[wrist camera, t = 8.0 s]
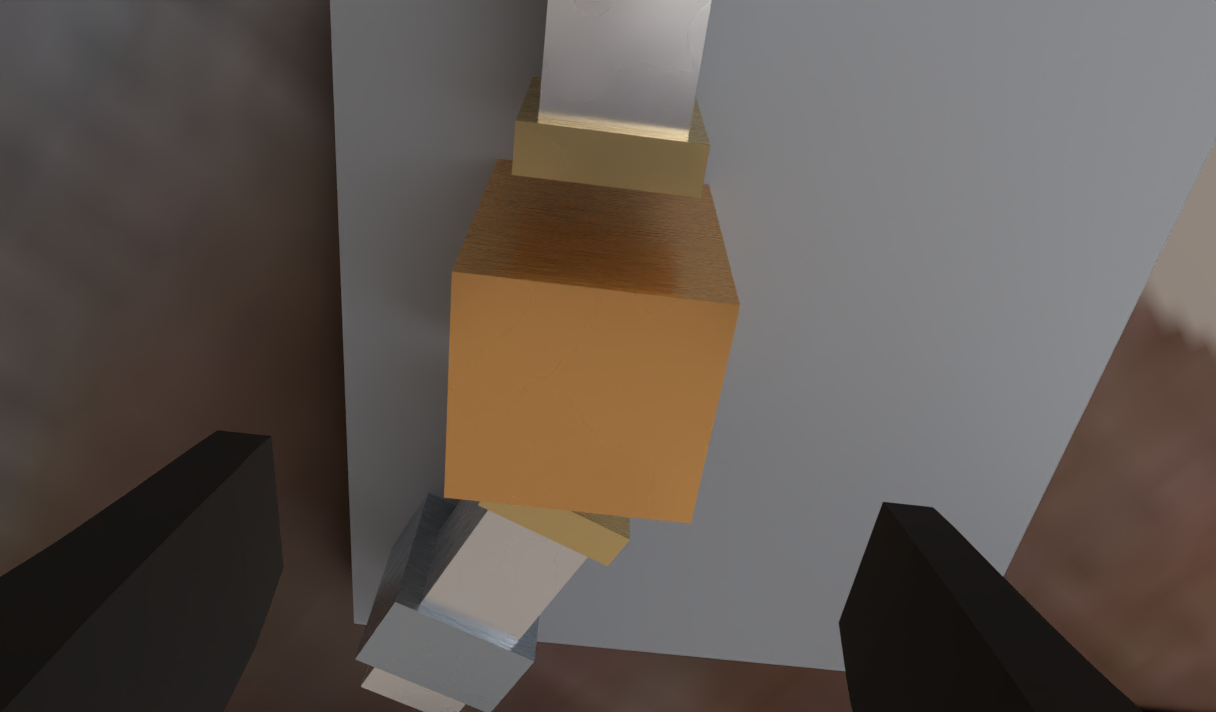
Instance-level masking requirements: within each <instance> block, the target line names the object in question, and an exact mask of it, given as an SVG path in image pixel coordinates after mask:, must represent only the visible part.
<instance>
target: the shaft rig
mask: <svg viewBox="0 0 1216 712" xmlns="http://www.w3.org/2000/svg"><path fill="white" fill-rule="evenodd" d="M711 2H712V0H548V5H547V17H546V29H545V42H544V54H543V66H542V77H538V76H533V78H532V80H531V83H530V85H529V88H528V90H527V93H526V95H525V98H524V100H523V103H522V105H521V108H520V110H519V113H518V115H517V118H516V120H515V134H514V149H513V164H512V175H518V176H526V177H534V178H542V179H550V180H558V181H566V182H575V183H583V184H591V185H599V186H607V187H615V188H623V189H631V190H640V191H648V192H656V193H664V194H672V195H680V196H688V197H696V198H701V193H702V188H703V182H704V177H705V171H706V166H707V161H708V155H709V150H710V142H709V139H708V135H707V132H706V129H705V125H704V122H703V119H702V115H701V112H700V108H699V105H698V102H697V98H696V97H695V95H696V89H697V83H698V77H699V71H700V66H701V60H702V54H703V48H704V42H705V37H706V31H707V25H708V19H709V13H710V7H711ZM629 540H630V517H624V516H615V515H605V514H596V513H586V512H577V511H567V510H558V509H548V508H539V507H529V506H520V505H510V504H500V503H491V502H481V501H472V500H461V501H460V503H459V504H458V505H457V506H456V505H454V504H452V503H449V502H447V501H445V500H443V499H441V498H439V497H437V496H434V495H432V494H430V493H428V494H427V495H426V497H425V498H424V500H423V501H422V503H421V504H420V506H419V507H418V509H417V510H416V512H415V513H414V515H413V516H412V518H411V519H410V521H409V522H408V524H407V525H406V527H405V528H404V530H403V531H402V533H401V534H400V536H399V537H398V539H397V540H396V542H395V543H394V545H393V546H392V549H391V552H390V555H389V558H388V561H387V564H386V567H385V571H384V574H383V577H382V580H381V583H380V586H379V589H378V592H377V595H376V598H375V601H374V604H373V607H372V610H371V613H370V616H369V619H368V622H367V625H366V628H365V631H364V634H363V637H362V640H361V643H360V646H359V649H358V652H357V655H356V658H355V660H358V661H360V662H363V663H365V664H368V665H367V668H366V671H365V674H364V677H363V680H362V684H361V687H363V688H365V689H368V690H370V691H373V692H375V693H378V694H380V695H383V696H385V697H388V698H390V699H393V700H396V701H398V702H401V703H403V704H406V705H408V706H411V707H413V708H416V709H418V710H421V711H423V712H460V710H461V709H462V708H463V707H464V706H465V704H467V705H470V706H472V707H474V708H477V709H479V710H482V711H484V712H491V711H492V710H493V709H494V708H495V707H496V706H497V704H498V703H499V702H500V701H501V700H502V699H503V697H504V696H505V695H506V694H507V693H508V692H509V690H510V689H511V688H512V687H513V686H514V685H515V683H516V682H517V681H518V680H519V679H520V678H521V677H522V675H523V674H524V673H525V672H526V671H527V670H528V668H529V667H530V666H531V665H532V664H533V663H534V661H535V652H536V642H537V633H538V624H539V615H540V614H541V613H542V612H543V610H544V609H545V608H546V607H547V606H548V604H549V603H550V602H551V601H552V600H553V598H554V597H555V596H556V595H557V594H558V592H559V591H560V590H561V589H562V588H563V586H564V585H565V584H566V583H567V582H568V580H569V579H570V578H571V577H572V576H573V574H574V573H575V572H576V571H577V570H578V568H579V567H580V566H581V565H582V564H583V562H584V561H585V560H586V559H587V557H589V558H591V559H593V560H595V561H597V562H599V563H601V564H603V565H606V566H608V565H609V564H610V563H611V562H612V560H613V559H614V558H615V557H616V556H617V554H618V553H619V552H620V551H621V550H622V549H623V547H624V546H625V545H626V544H627V543H628V542H629Z"/></svg>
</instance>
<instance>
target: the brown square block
mask: <svg viewBox="0 0 1216 712" xmlns="http://www.w3.org/2000/svg"><path fill="white" fill-rule="evenodd" d="M512 164H513V160H506V159H497V162H496V164H495V167H494V169H493V172H492V174H491V176H490V179H489V181H488V184H487V186H486V189H485V191H484V194H483V196H482V199H481V201H480V203H479V206H478V208H477V211H476V213H475V216H474V218H473V221H472V223H471V226H470V228H469V231H468V233H467V235H466V238H465V240H464V243H463V245H462V248H461V250H460V253H459V255H458V258H457V260H456V262H455V265H454V267H453V270H452V282H451V311H450V340H449V369H448V398H447V427H446V456H445V485H444V498H453V499H462V500H472V501H481V502H491V503H500V504H510V505H520V506H529V507H539V508H548V509H558V510H567V511H577V512H586V513H596V514H605V515H615V516H624V517H634V518H643V519H653V520H662V521H672V522H681V523H691V521H692V517H693V512H694V508H695V504H696V499H697V495H698V490H699V486H700V482H701V477H702V473H703V468H704V464H705V459H706V455H707V451H708V446H709V442H710V437H711V433H712V429H713V424H714V420H715V415H716V411H717V406H718V402H719V398H720V393H721V389H722V384H723V380H724V375H725V371H726V367H727V362H728V358H729V353H730V349H731V345H732V340H733V336H734V331H735V327H736V322H737V318H738V314H739V309H740V302H739V298H738V295H737V291H736V287H735V283H734V279H733V275H732V271H731V267H730V263H729V260H728V256H727V252H726V248H725V244H724V240H723V236H722V232H721V229H720V225H719V221H718V217H717V213H716V209H715V205H714V201H713V198H712V194H711V190H710V186H709V185H706V184H703V188H702V193H701V198H696V197H688V196H680V195H672V194H664V193H656V192H648V191H640V190H631V189H623V188H615V187H607V186H599V185H591V184H583V183H575V182H566V181H558V180H550V179H542V178H534V177H526V176H518V175H512Z"/></svg>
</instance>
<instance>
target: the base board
mask: <svg viewBox="0 0 1216 712" xmlns="http://www.w3.org/2000/svg"><path fill="white" fill-rule="evenodd" d="M547 5H548V0H330V15H331V41H332V67H333V93H334V119H335V144H336V170H337V196H338V222H339V248H340V273H341V299H342V325H343V351H344V377H345V402H346V428H347V454H348V480H349V506H350V531H351V557H352V583H353V609H354V624H363V625H367V622H368V619H369V616H370V613H371V610H372V607H373V604H374V601H375V598H376V595H377V592H378V589H379V586H380V583H381V580H382V577H383V574H384V571H385V567H386V564H387V561H388V558H389V555H390V552H391V549H392V546H393V545H394V543H395V542H396V540H397V539H398V537H399V536H400V534H401V533H402V531H403V530H404V528H405V527H406V525H407V524H408V522H409V521H410V519H411V518H412V516H413V515H414V513H415V512H416V510H417V509H418V507H419V506H420V504H421V503H422V501H423V500H424V498H425V497H426V495H427V494H428V493H430V494H432V495H434V496H437V497H439V498H441V499H443V500H445V501H447V502H449V503H452V504H454V505H456V506H457V505H458V504H459V503H460V501H461V500H462V499H453V498H444V485H445V456H446V427H447V398H448V369H449V340H450V311H451V282H452V270H453V267H454V265H455V262H456V260H457V258H458V255H459V253H460V250H461V248H462V245H463V243H464V240H465V238H466V235H467V233H468V231H469V228H470V226H471V223H472V221H473V218H474V216H475V213H476V211H477V208H478V206H479V203H480V201H481V199H482V196H483V194H484V191H485V189H486V186H487V184H488V181H489V179H490V176H491V174H492V172H493V169H494V167H495V164H496V162H497V159H506V160H513V149H514V134H515V120H516V118H517V115H518V113H519V110H520V108H521V105H522V103H523V100H524V98H525V95H526V93H527V90H528V88H529V85H530V83H531V80H532V78H533V76H538V77H542V66H543V54H544V42H545V29H546V17H547ZM695 97H696V98H697V102H698V105H699V108H700V112H701V115H702V119H703V122H704V125H705V129H706V132H707V135H708V139H709V142H710V150H709V155H708V161H707V166H706V171H705V177H704V182H703V184H706V185H709V186H710V190H711V194H712V198H713V201H714V205H715V209H716V213H717V217H718V221H719V225H720V229H721V232H722V236H723V240H724V244H725V248H726V252H727V256H728V260H729V263H730V267H731V271H732V275H733V279H734V283H735V287H736V291H737V295H738V298H739V302H740V309H739V314H738V318H737V322H736V327H735V331H734V336H733V340H732V345H731V349H730V353H729V358H728V362H727V367H726V371H725V375H724V380H723V384H722V389H721V393H720V398H719V402H718V406H717V411H716V415H715V420H714V424H713V429H712V433H711V437H710V442H709V446H708V451H707V455H706V459H705V464H704V468H703V473H702V477H701V482H700V486H699V490H698V495H697V499H696V504H695V508H694V512H693V517H692V521H691V523H681V522H672V521H662V520H653V519H643V518H634V517H630V540H629V542H628V543H627V544H626V545H625V546H624V547H623V549H622V550H621V551H620V552H619V553H618V554H617V556H616V557H615V558H614V559H613V560H612V562H611V563H610V564H609V565H608V566H606V565H603V564H601V563H599V562H597V561H595V560H593V559H591V558H589V557H587V559H586V560H585V561H584V562H583V564H582V565H581V566H580V567H579V568H578V570H577V571H576V572H575V573H574V574H573V576H572V577H571V578H570V579H569V580H568V582H567V583H566V584H565V585H564V586H563V588H562V589H561V590H560V591H559V592H558V594H557V595H556V596H555V597H554V598H553V600H552V601H551V602H550V603H549V604H548V606H547V607H546V608H545V609H544V610H543V612H542V613H541V614H540V615H539V624H538V633H537V641H538V642H549V643H559V644H569V645H580V646H590V647H600V648H611V649H621V650H631V651H642V652H652V653H662V654H673V655H683V656H693V657H704V658H714V659H724V660H735V661H745V662H755V663H766V664H776V665H786V666H797V667H807V668H817V669H828V670H838V671H845V665H844V658H843V651H842V644H841V637H840V629H839V620H840V617H841V615H842V612H843V609H844V606H845V604H846V601H847V598H848V596H849V593H850V590H851V587H852V585H853V582H854V579H855V576H856V574H857V571H858V568H859V566H860V563H861V560H862V557H863V555H864V552H865V549H866V547H867V544H868V541H869V538H870V536H871V533H872V530H873V527H874V525H875V522H876V519H877V517H878V514H879V511H880V508H881V506H882V503H883V502H890V503H899V504H909V505H918V506H927V507H933V508H935V509H936V510H937V511H938V512H939V513H940V514H941V515H942V516H943V517H944V518H945V519H946V520H947V521H948V522H949V523H950V524H952V525H953V526H954V527H955V528H956V529H957V530H958V531H959V532H960V533H961V534H962V535H963V536H964V537H965V538H966V539H967V540H968V541H969V542H970V543H971V544H972V546H973V547H974V548H975V549H976V550H977V551H978V552H979V553H980V554H981V555H982V556H983V557H984V558H985V559H986V560H987V561H988V562H989V563H990V564H991V565H992V566H993V567H994V568H995V569H996V570H997V571H998V572H999V573H1000V574H1001V575H1002V576H1004V574H1005V572H1006V570H1007V568H1008V566H1009V564H1010V562H1011V560H1012V558H1013V555H1014V553H1015V551H1016V549H1017V547H1018V545H1019V543H1020V541H1021V539H1022V537H1023V535H1024V533H1025V531H1026V529H1027V527H1028V525H1029V523H1030V521H1031V519H1032V516H1033V514H1034V512H1035V510H1036V508H1037V506H1038V504H1039V502H1040V500H1041V498H1042V496H1043V494H1044V492H1045V490H1046V488H1047V486H1048V484H1049V482H1050V480H1051V477H1052V475H1053V473H1054V471H1055V469H1056V467H1057V465H1058V463H1059V461H1060V459H1061V457H1062V455H1063V453H1064V451H1065V449H1066V447H1067V445H1068V443H1069V440H1070V438H1071V436H1072V434H1073V432H1074V430H1075V428H1076V426H1077V424H1078V422H1079V420H1080V418H1081V416H1082V414H1083V412H1084V410H1085V408H1086V406H1087V404H1088V401H1089V399H1090V397H1091V395H1092V393H1093V391H1094V389H1095V387H1096V385H1097V383H1098V381H1099V379H1100V377H1101V375H1102V373H1103V371H1104V369H1105V367H1106V365H1107V362H1108V360H1109V358H1110V356H1111V354H1112V352H1113V350H1114V348H1115V346H1116V344H1117V342H1118V340H1119V338H1120V336H1121V334H1122V332H1123V330H1124V328H1125V326H1126V323H1127V321H1128V319H1129V317H1130V315H1131V313H1132V311H1133V309H1134V307H1135V305H1136V303H1137V301H1138V299H1139V297H1140V295H1141V293H1142V291H1143V289H1144V287H1145V284H1146V282H1147V280H1148V278H1149V276H1150V274H1151V272H1152V270H1153V268H1154V266H1155V263H1156V262H1157V260H1158V258H1159V256H1160V253H1161V252H1162V249H1163V247H1164V245H1165V243H1166V241H1167V239H1168V237H1169V235H1170V233H1171V231H1172V229H1173V227H1174V225H1175V223H1176V221H1177V219H1178V217H1179V214H1180V213H1181V211H1182V208H1183V206H1184V204H1185V202H1186V200H1187V198H1188V196H1189V194H1190V192H1191V190H1192V188H1193V186H1194V183H1195V182H1196V180H1197V178H1198V176H1199V173H1200V171H1201V169H1202V167H1203V165H1204V163H1205V161H1206V159H1207V157H1208V155H1209V153H1210V151H1211V149H1212V147H1213V145H1214V143H1215V141H1216V0H712V2H711V7H710V13H709V19H708V25H707V31H706V37H705V42H704V48H703V54H702V60H701V66H700V71H699V77H698V83H697V89H696V95H695Z"/></svg>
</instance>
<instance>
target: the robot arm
mask: <svg viewBox="0 0 1216 712" xmlns="http://www.w3.org/2000/svg"><path fill="white" fill-rule="evenodd" d="M282 569H283V559H282V548H281V537H280V527H279V516H278V505H277V494H276V484H275V473H274V462H273V452H272V441H271V436H265V435H255V434H246V433H237V432H227V431H216V432H215V433H213V434H212V435H210V436H208V437H207V438H205V439H204V440H202V441H201V442H200V443H198V444H197V445H195V446H194V447H192V448H191V449H189V450H188V451H187V452H185V453H184V454H182V455H181V456H179V457H178V458H177V459H175V460H174V461H172V462H171V463H170V464H168V465H167V466H165V467H164V468H163V469H161V470H160V471H158V472H157V473H155V474H154V475H153V476H151V477H150V478H148V479H147V480H146V481H144V482H143V483H141V484H140V485H139V486H137V487H136V488H134V489H133V490H131V491H130V492H129V493H127V494H126V495H124V496H123V497H121V498H120V499H118V500H117V501H116V502H114V503H113V504H111V505H110V506H108V507H107V508H105V509H104V510H102V511H101V512H99V513H98V514H97V515H95V516H94V517H92V518H91V519H89V520H88V521H86V522H85V523H83V524H82V525H80V526H79V527H78V528H76V529H75V530H73V531H72V532H70V533H69V534H67V535H66V536H64V537H63V538H61V539H60V540H58V541H57V542H55V543H54V544H52V545H51V546H49V547H47V548H46V549H44V550H43V551H41V552H39V553H38V554H36V555H35V556H33V557H32V558H30V559H28V560H27V561H25V562H24V563H22V564H20V565H19V566H17V567H16V568H14V569H12V570H11V571H9V572H8V573H6V574H4V575H3V576H1V577H0V712H223V711H224V709H225V707H226V705H227V703H228V701H229V699H230V697H231V695H232V693H233V691H234V689H235V687H236V685H237V683H238V681H239V679H240V677H241V675H242V673H243V671H244V669H245V667H246V665H247V663H248V661H249V659H250V657H251V655H252V652H253V650H254V648H255V646H256V643H257V641H258V638H259V635H260V632H261V630H262V627H263V624H264V622H265V619H266V616H267V613H268V611H269V608H270V605H271V602H272V599H273V596H274V593H275V590H276V587H277V584H278V581H279V578H280V575H281V572H282ZM839 629H840V637H841V644H842V651H843V658H844V665H845V672H846V678H847V684H848V690H849V695H850V701H851V706H852V710H853V712H1143V711H1142V710H1141V709H1140V708H1138V707H1137V706H1136V705H1135V704H1134V703H1133V702H1132V701H1131V700H1130V699H1128V698H1127V697H1126V696H1125V695H1124V694H1123V693H1122V692H1121V691H1120V690H1119V689H1117V688H1116V687H1115V686H1114V685H1113V684H1112V683H1111V682H1110V681H1109V680H1108V679H1107V678H1105V677H1104V676H1103V675H1102V674H1101V673H1100V672H1099V671H1098V670H1097V669H1096V668H1095V667H1094V666H1093V665H1092V664H1091V663H1090V662H1089V661H1087V660H1086V659H1085V658H1084V657H1083V656H1082V655H1081V654H1080V653H1079V652H1078V651H1077V650H1076V649H1075V648H1074V647H1073V646H1072V645H1071V644H1070V643H1069V642H1068V641H1067V640H1066V639H1065V638H1064V637H1063V636H1062V635H1061V634H1060V633H1059V632H1058V631H1057V630H1056V629H1055V628H1053V627H1052V626H1051V625H1050V624H1049V623H1048V622H1047V621H1046V620H1045V619H1044V618H1043V617H1042V616H1041V615H1040V614H1039V613H1038V612H1037V611H1036V610H1035V609H1034V608H1033V607H1032V606H1031V605H1030V604H1029V603H1028V602H1027V601H1026V600H1025V599H1024V598H1023V597H1022V596H1021V594H1020V593H1019V592H1018V591H1017V590H1016V589H1015V588H1014V587H1013V586H1012V585H1011V584H1010V583H1009V582H1008V581H1007V580H1006V579H1005V578H1004V577H1003V576H1002V575H1001V574H1000V573H999V572H998V571H997V570H996V569H995V568H994V567H993V566H992V565H991V564H990V563H989V562H988V561H987V560H986V559H985V558H984V557H983V556H982V555H981V554H980V553H979V552H978V551H977V550H976V549H975V548H974V547H973V546H972V544H971V543H970V542H969V541H968V540H967V539H966V538H965V537H964V536H963V535H962V534H961V533H960V532H959V531H958V530H957V529H956V528H955V527H954V526H953V525H952V524H950V523H949V522H948V521H947V520H946V519H945V518H944V517H943V516H942V515H941V514H940V513H939V512H938V511H937V510H936V509H935V508H933V507H927V506H918V505H909V504H899V503H890V502H883V503H882V506H881V508H880V511H879V514H878V517H877V519H876V522H875V525H874V527H873V530H872V533H871V536H870V538H869V541H868V544H867V547H866V549H865V552H864V555H863V557H862V560H861V563H860V566H859V568H858V571H857V574H856V576H855V579H854V582H853V585H852V587H851V590H850V593H849V596H848V598H847V601H846V604H845V606H844V609H843V612H842V615H841V617H840V620H839Z"/></svg>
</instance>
